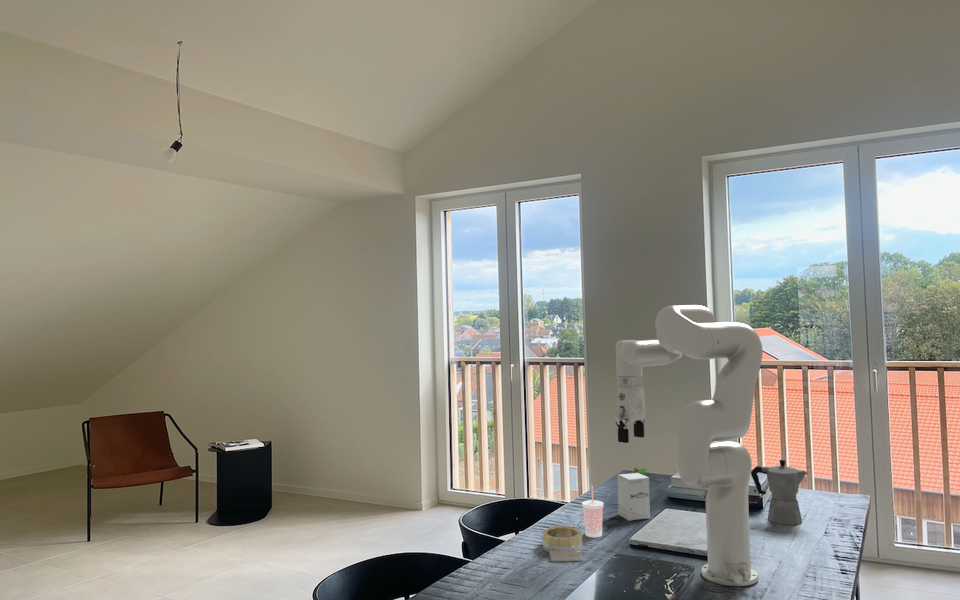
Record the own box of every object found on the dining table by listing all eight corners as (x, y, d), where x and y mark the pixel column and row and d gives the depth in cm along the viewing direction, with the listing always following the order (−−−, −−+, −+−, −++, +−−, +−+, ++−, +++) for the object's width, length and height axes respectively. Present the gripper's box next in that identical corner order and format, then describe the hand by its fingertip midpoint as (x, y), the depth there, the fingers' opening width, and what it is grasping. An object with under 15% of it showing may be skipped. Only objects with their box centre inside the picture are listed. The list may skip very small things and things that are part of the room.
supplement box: (629, 521, 199) (627, 479, 200) (617, 514, 207) (616, 474, 207) (651, 518, 201) (649, 477, 202) (639, 512, 209) (637, 471, 209)
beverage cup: (587, 530, 192) (586, 481, 193) (607, 533, 189) (606, 484, 190) (579, 536, 187) (578, 486, 188) (600, 539, 184) (598, 489, 184)
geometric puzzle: (657, 481, 237) (647, 461, 242) (643, 484, 234) (633, 464, 238) (646, 490, 242) (636, 470, 246) (632, 493, 238) (622, 473, 243)
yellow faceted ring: (584, 554, 173) (584, 538, 173) (544, 555, 173) (544, 539, 173) (576, 535, 188) (576, 520, 188) (540, 535, 188) (540, 521, 189)
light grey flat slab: (587, 560, 168) (587, 552, 168) (546, 561, 168) (546, 553, 168) (579, 540, 183) (579, 533, 184) (541, 541, 184) (541, 534, 184)
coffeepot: (808, 518, 198) (806, 457, 198) (810, 527, 189) (808, 464, 190) (753, 513, 204) (750, 454, 204) (752, 522, 195) (750, 461, 196)
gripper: (627, 385, 187) (629, 446, 186) (654, 379, 200) (656, 436, 199) (603, 384, 192) (605, 443, 191) (632, 378, 205) (633, 433, 204)
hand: (631, 439), depth 195 cm, fingers open, 9 cm apart
